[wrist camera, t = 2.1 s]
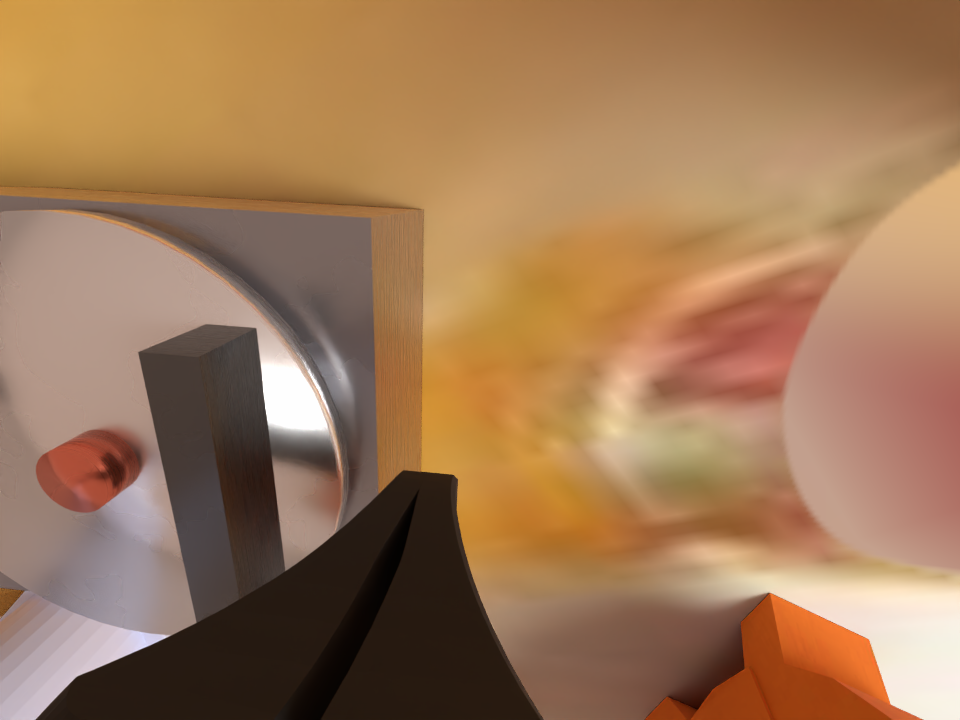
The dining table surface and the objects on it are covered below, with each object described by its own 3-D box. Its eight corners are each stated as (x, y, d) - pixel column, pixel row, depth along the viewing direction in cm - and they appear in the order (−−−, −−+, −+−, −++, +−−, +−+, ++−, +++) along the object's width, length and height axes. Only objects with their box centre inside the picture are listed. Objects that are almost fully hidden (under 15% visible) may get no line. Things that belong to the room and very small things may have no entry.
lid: (-8, 590, 15) (-116, 672, 13) (-170, 194, 11) (-385, 194, 8) (357, 634, 15) (322, 729, 12) (336, 225, 10) (273, 236, 8)
